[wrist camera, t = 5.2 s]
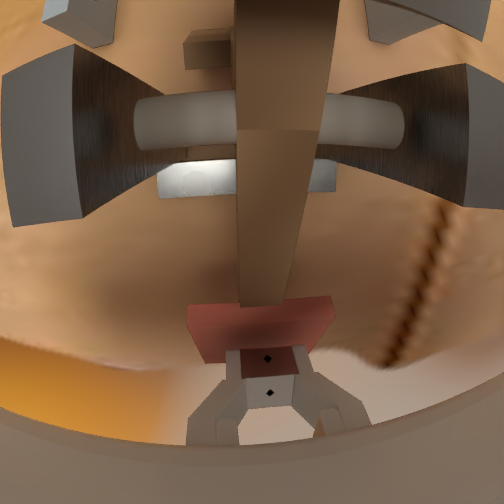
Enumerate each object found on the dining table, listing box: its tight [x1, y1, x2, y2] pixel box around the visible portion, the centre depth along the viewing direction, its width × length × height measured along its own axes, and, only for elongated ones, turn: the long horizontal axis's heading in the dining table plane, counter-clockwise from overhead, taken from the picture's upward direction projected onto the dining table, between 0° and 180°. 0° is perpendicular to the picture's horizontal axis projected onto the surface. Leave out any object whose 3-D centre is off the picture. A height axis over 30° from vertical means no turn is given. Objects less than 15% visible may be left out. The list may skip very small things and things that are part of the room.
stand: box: [1, 44, 504, 227], centre depth 8 cm, size 8×4×10 cm, turn 91°
